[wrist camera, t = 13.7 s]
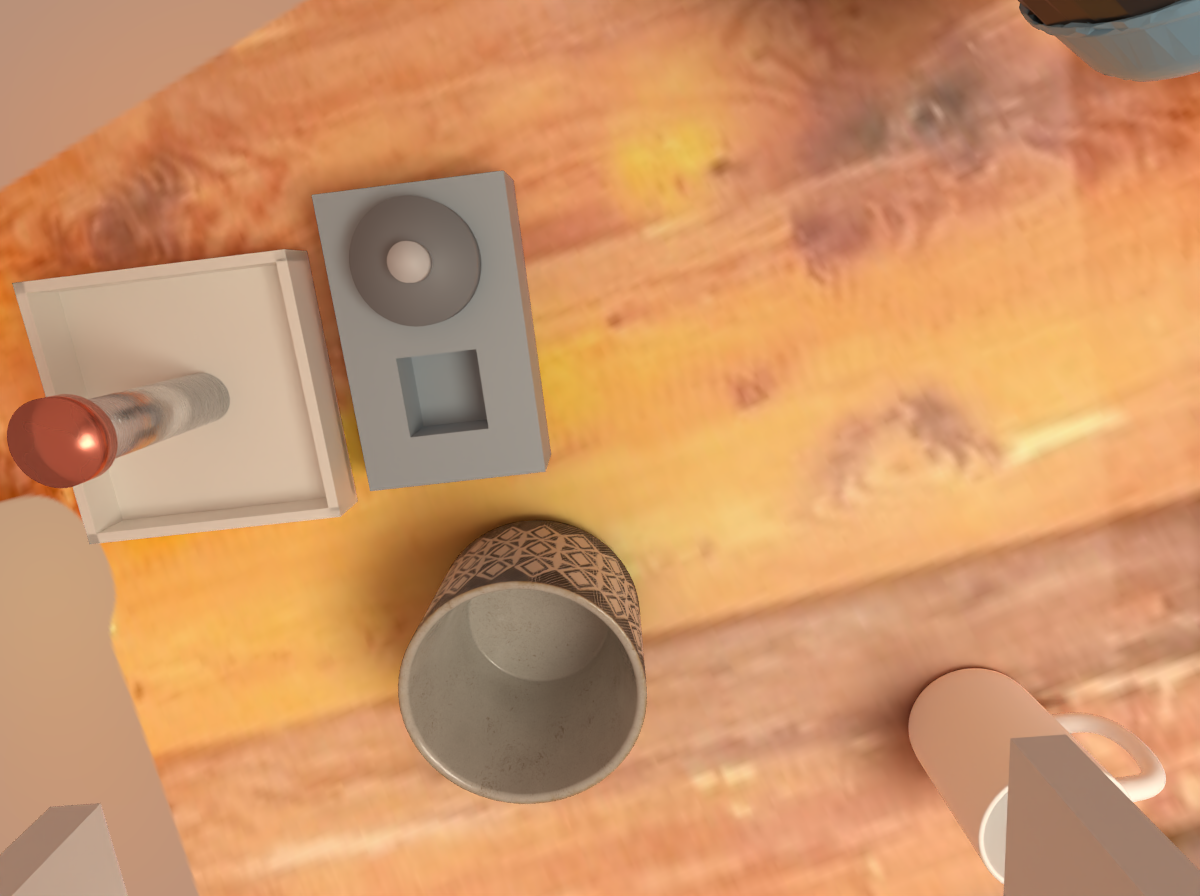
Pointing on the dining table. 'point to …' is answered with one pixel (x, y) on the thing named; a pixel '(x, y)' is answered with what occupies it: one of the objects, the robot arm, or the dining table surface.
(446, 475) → the block
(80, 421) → the lock pin
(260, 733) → the dining table surface
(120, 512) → the tray
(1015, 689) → the cup
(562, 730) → the planter
